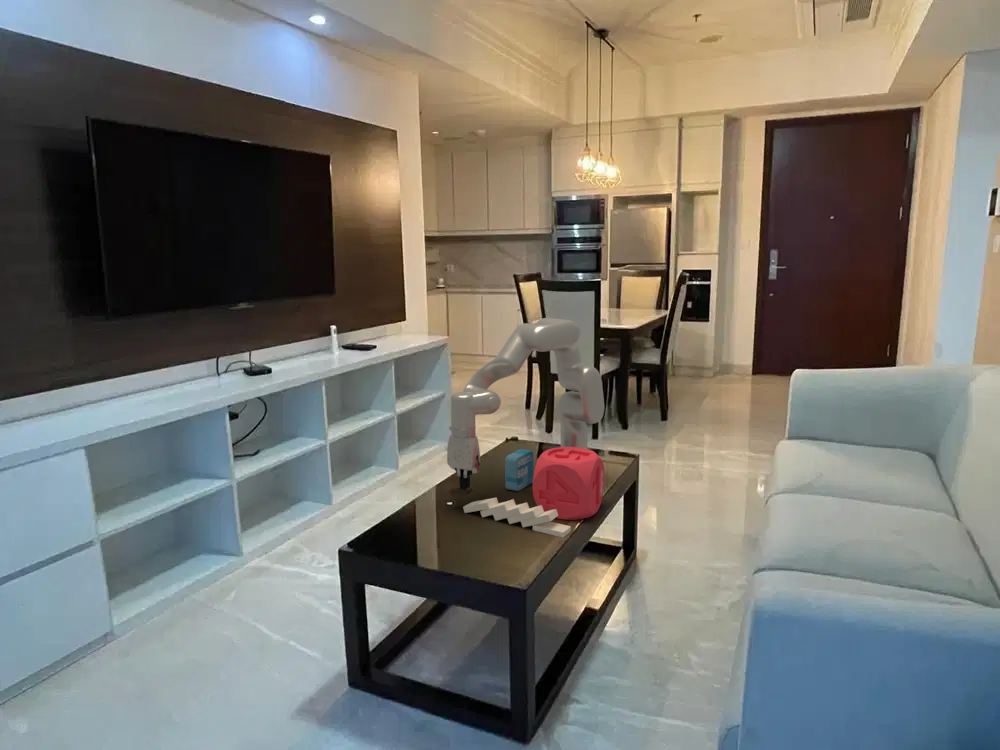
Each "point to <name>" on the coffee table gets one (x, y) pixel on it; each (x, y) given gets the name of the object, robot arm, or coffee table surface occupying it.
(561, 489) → the red foam number die
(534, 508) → the domino
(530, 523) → the domino
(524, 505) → the domino
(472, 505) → the domino
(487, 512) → the domino
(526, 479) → the data package
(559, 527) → the domino
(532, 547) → the coffee table surface
